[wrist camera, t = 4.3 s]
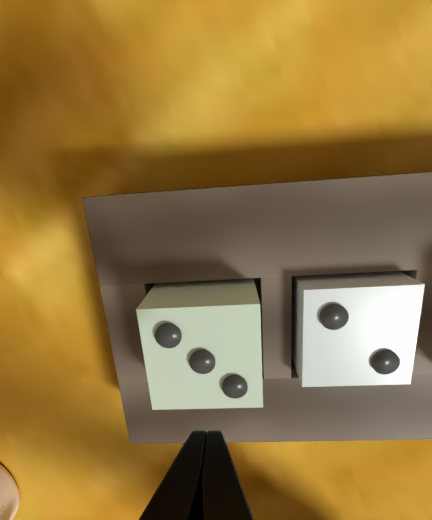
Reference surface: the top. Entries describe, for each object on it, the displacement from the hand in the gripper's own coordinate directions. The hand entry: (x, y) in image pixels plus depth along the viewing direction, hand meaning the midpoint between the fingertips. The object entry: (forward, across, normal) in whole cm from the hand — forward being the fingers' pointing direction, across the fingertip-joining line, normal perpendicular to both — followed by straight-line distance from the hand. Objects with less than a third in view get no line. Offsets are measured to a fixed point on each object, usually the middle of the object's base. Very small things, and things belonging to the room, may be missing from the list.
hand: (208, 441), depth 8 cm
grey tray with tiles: (+9, -6, 0) cm, 11 cm away
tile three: (+7, 0, 0) cm, 7 cm away
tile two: (+8, -6, 0) cm, 10 cm away
